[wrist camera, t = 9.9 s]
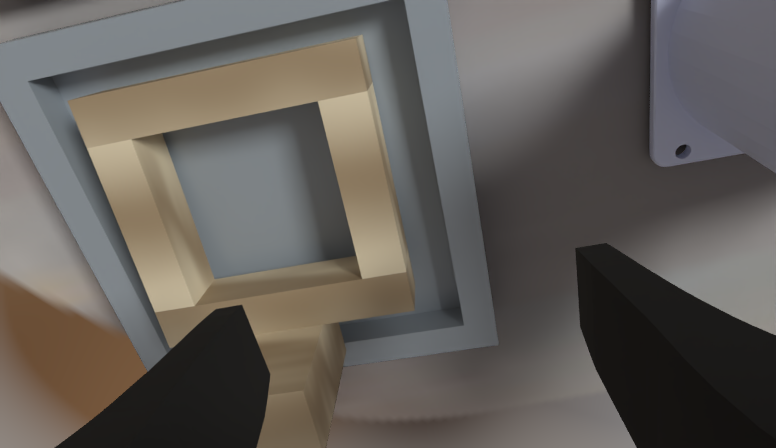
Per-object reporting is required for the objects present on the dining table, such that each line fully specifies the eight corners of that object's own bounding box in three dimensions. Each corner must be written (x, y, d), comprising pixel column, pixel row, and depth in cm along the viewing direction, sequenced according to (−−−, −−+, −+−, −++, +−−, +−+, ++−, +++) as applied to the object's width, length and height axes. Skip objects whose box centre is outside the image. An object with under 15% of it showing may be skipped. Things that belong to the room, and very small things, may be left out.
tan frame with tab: (426, 338, 21) (429, 443, 16) (210, 370, 23) (150, 477, 17) (362, 34, 17) (338, 47, 12) (102, 90, 18) (-19, 124, 13)
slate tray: (435, -60, 17) (438, -59, 15) (492, 313, 23) (498, 344, 22) (13, 39, 19) (-28, 50, 17) (176, 360, 25) (159, 392, 23)
